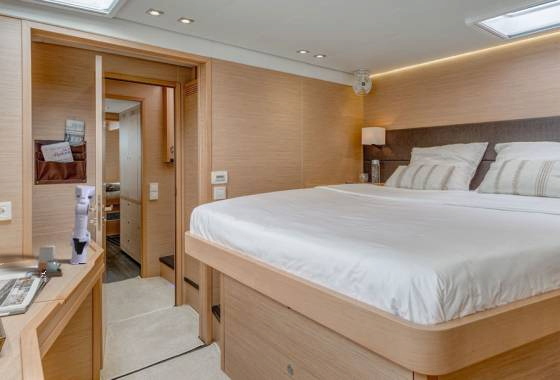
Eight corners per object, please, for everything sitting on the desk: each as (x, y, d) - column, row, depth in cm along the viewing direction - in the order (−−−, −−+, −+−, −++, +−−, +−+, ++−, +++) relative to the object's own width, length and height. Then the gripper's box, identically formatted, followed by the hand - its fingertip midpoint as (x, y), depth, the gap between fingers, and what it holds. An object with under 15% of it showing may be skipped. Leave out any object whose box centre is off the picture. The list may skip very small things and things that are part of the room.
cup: (45, 272, 179) (46, 260, 178) (56, 271, 181) (57, 259, 181) (45, 275, 175) (46, 262, 174) (57, 274, 177) (57, 262, 177)
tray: (39, 272, 179) (39, 269, 179) (60, 271, 184) (60, 268, 184) (40, 277, 172) (40, 274, 172) (62, 276, 177) (62, 272, 177)
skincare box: (37, 270, 183) (39, 246, 183) (40, 267, 187) (42, 245, 187) (50, 270, 185) (52, 247, 184) (53, 268, 189) (55, 245, 188)
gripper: (70, 224, 190) (68, 250, 190) (73, 229, 178) (71, 256, 178) (85, 224, 194) (83, 249, 194) (89, 229, 182) (87, 255, 182)
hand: (78, 252), depth 186 cm, fingers open, 7 cm apart
